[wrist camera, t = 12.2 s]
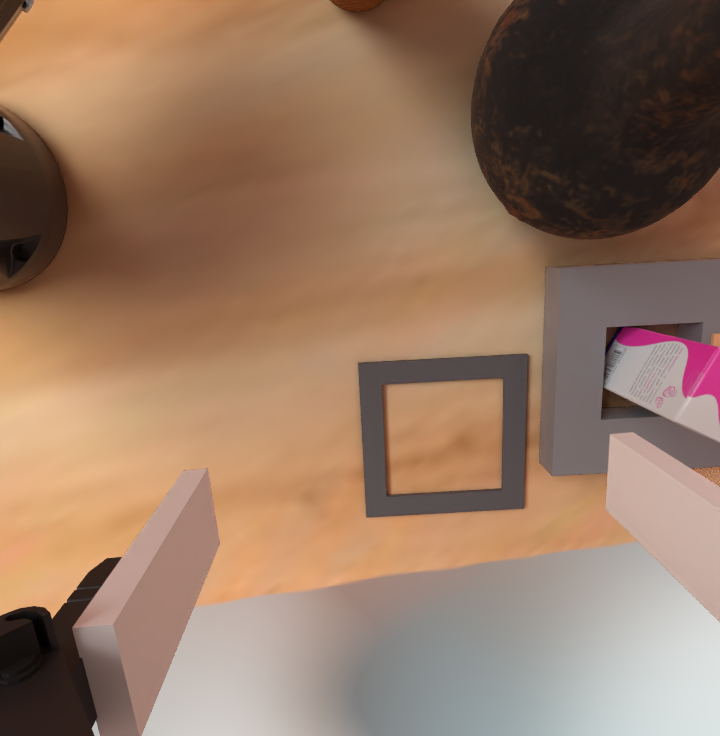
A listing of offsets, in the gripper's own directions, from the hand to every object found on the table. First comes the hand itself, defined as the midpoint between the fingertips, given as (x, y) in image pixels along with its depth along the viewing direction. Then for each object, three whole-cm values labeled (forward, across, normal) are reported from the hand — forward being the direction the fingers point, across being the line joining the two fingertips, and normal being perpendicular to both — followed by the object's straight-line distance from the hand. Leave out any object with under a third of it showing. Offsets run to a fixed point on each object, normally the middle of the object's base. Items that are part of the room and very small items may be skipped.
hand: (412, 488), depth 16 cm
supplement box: (+27, +24, -4) cm, 36 cm away
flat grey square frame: (+27, +6, -10) cm, 30 cm away
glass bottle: (+28, +17, +16) cm, 36 cm away
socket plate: (+27, +24, -4) cm, 36 cm away
